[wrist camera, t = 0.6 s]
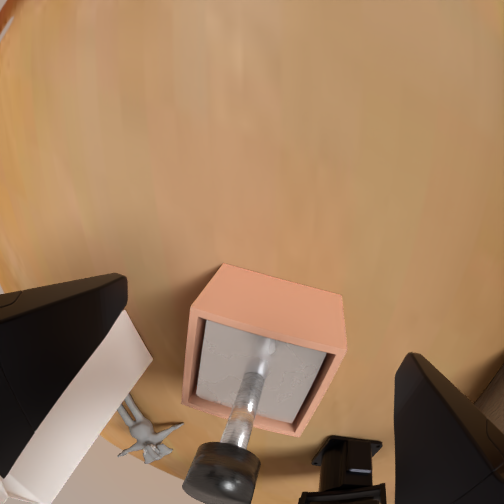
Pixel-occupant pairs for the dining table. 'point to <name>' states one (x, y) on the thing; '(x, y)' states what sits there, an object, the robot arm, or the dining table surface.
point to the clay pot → (267, 332)
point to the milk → (78, 416)
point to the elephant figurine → (145, 433)
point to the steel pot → (494, 400)
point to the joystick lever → (245, 405)
